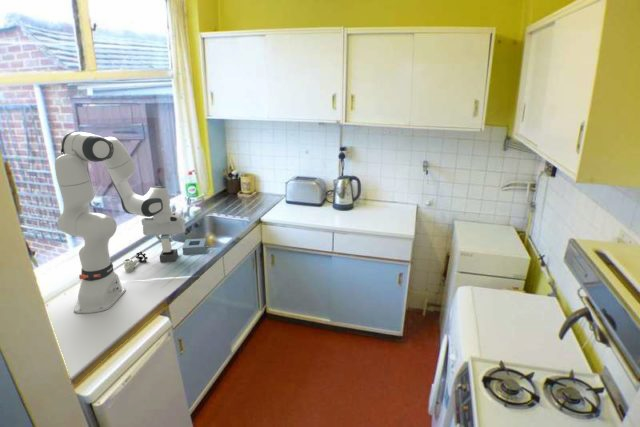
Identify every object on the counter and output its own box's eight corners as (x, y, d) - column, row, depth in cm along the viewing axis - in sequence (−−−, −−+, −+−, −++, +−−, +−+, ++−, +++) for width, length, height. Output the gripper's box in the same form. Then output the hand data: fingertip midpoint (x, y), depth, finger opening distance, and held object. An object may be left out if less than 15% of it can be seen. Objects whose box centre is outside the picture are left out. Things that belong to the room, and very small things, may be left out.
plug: (170, 251, 201) (167, 235, 198) (162, 252, 201) (160, 236, 198) (171, 249, 205) (169, 233, 202) (164, 249, 204) (162, 233, 201)
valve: (132, 274, 191) (148, 263, 202) (130, 262, 189) (146, 252, 200) (121, 273, 193) (137, 262, 204) (119, 261, 190) (135, 250, 201)
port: (204, 254, 211) (203, 246, 209) (183, 256, 209) (182, 247, 208) (206, 246, 221) (205, 237, 219) (186, 247, 220) (185, 239, 218)
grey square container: (175, 262, 202) (174, 255, 201) (160, 264, 201) (159, 256, 200) (178, 256, 209) (177, 249, 208) (163, 257, 208) (162, 249, 207)
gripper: (139, 219, 192) (143, 245, 197) (182, 217, 195) (185, 243, 200) (142, 215, 198) (146, 240, 202) (184, 213, 201) (187, 238, 205)
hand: (166, 241), depth 201 cm, fingers closed on plug, 4 cm apart
